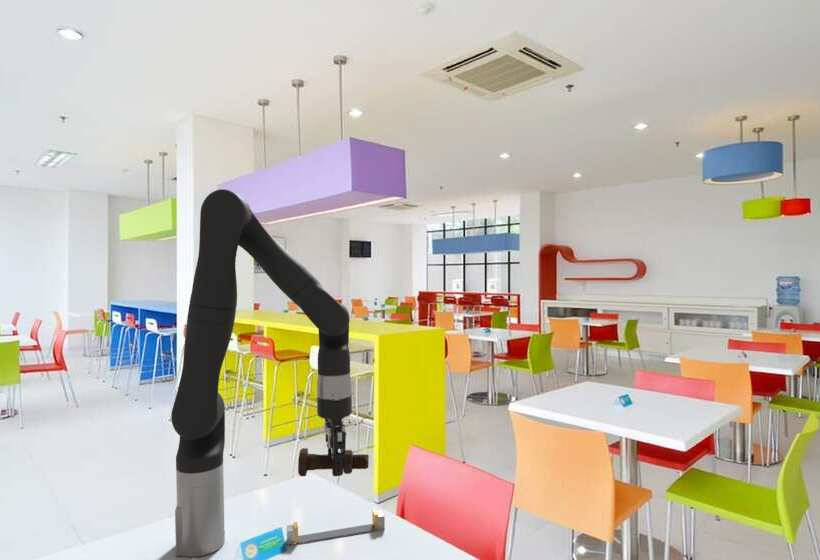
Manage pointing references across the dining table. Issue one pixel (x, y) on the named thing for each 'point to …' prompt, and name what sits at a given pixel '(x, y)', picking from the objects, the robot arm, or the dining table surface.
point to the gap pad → (336, 533)
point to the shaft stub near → (292, 533)
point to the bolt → (330, 462)
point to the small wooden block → (378, 520)
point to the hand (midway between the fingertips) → (335, 469)
